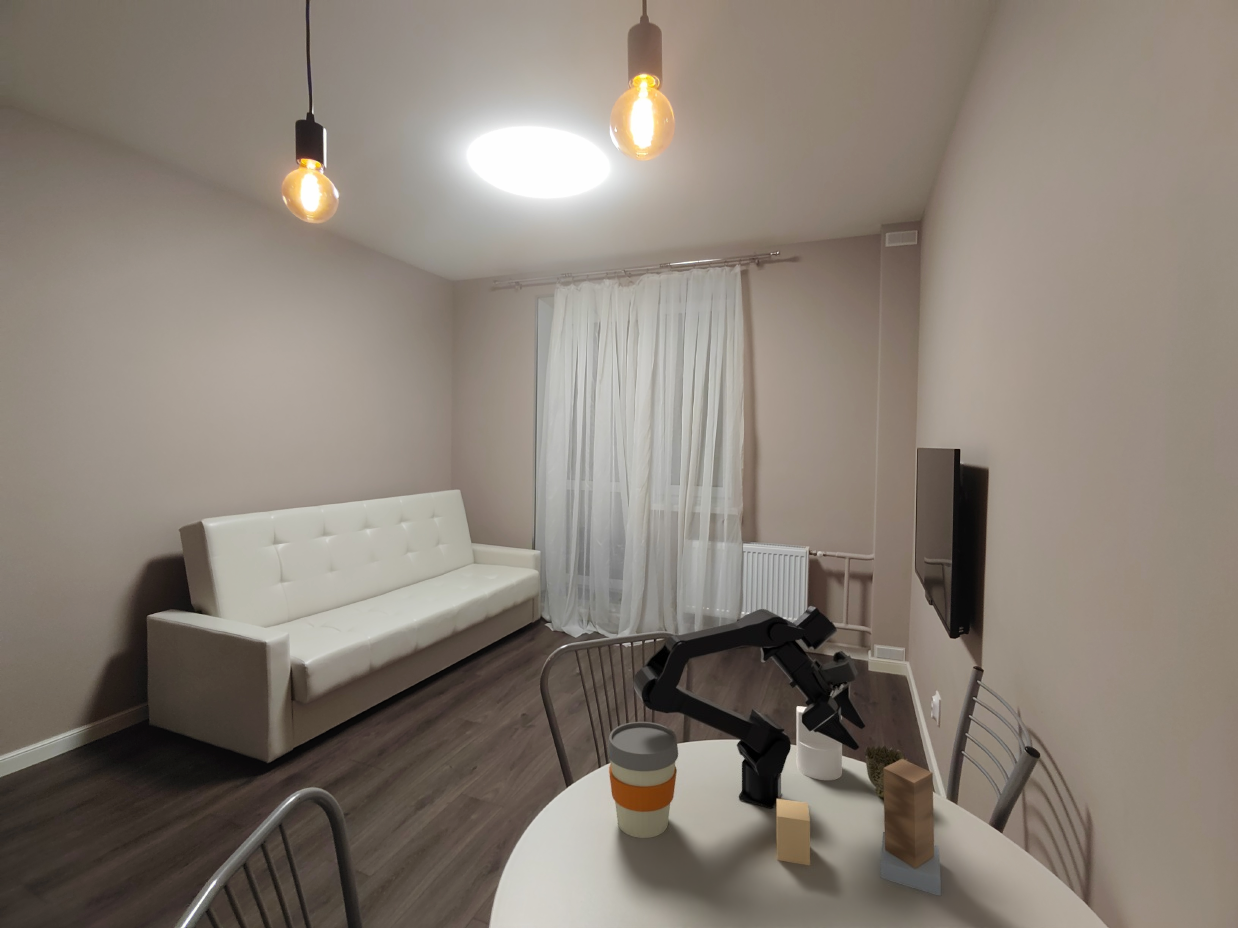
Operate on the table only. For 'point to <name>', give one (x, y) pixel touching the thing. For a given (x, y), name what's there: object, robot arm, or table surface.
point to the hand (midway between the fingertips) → (860, 737)
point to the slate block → (912, 871)
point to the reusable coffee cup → (642, 776)
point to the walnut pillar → (908, 812)
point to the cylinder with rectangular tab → (817, 752)
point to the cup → (880, 765)
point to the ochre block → (793, 832)
